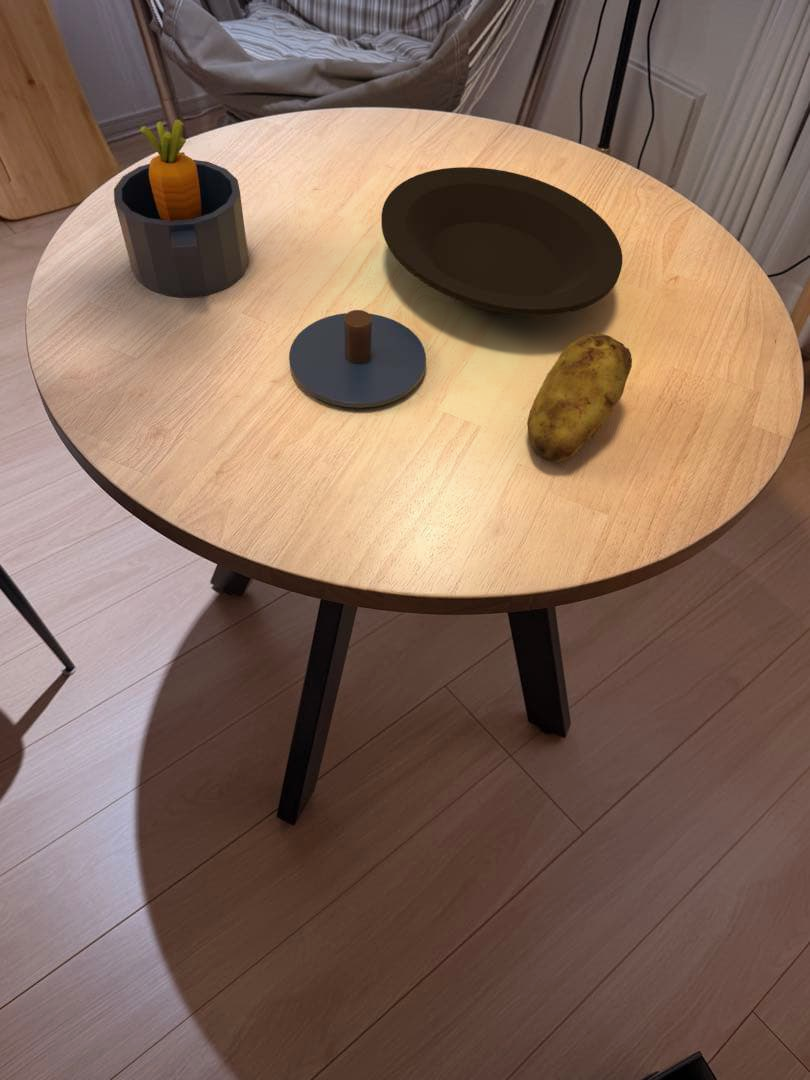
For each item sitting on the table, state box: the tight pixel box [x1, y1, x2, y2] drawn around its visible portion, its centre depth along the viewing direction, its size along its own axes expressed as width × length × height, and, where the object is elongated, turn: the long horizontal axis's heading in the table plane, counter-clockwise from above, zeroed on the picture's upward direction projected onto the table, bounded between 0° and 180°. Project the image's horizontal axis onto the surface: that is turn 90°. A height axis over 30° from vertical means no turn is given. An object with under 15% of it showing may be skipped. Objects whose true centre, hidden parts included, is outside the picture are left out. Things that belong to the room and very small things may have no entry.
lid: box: [288, 309, 427, 409], centre depth 77 cm, size 14×14×6 cm
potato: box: [526, 333, 633, 463], centre depth 72 cm, size 8×13×8 cm, turn 131°
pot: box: [113, 152, 249, 298], centre depth 85 cm, size 13×18×8 cm
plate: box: [380, 166, 623, 316], centre depth 87 cm, size 28×24×6 cm
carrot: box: [139, 119, 201, 221], centre depth 82 cm, size 5×5×15 cm
